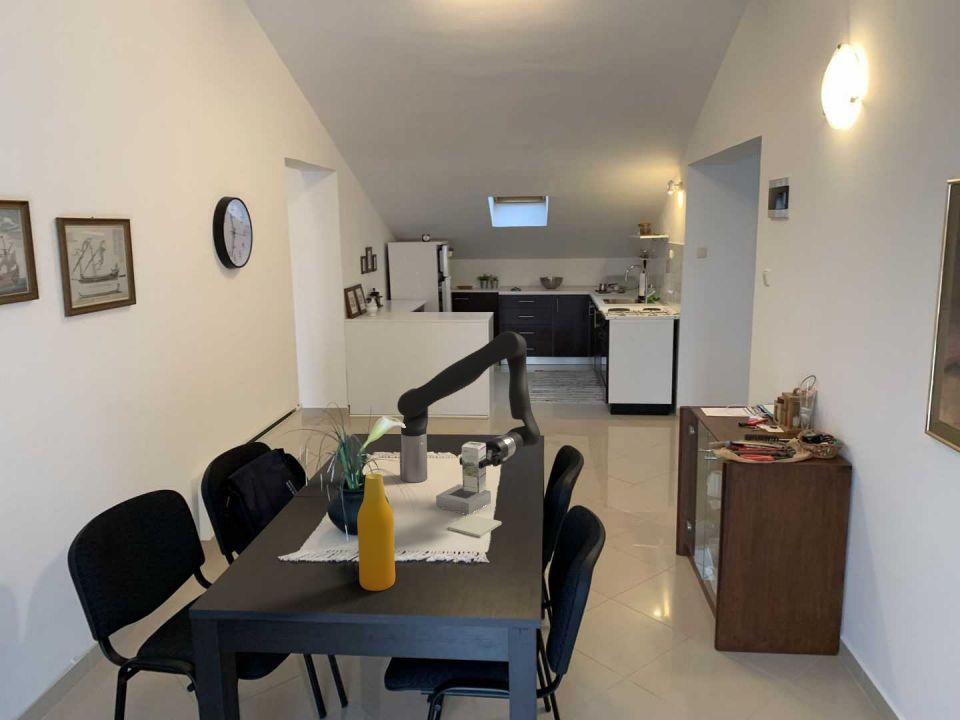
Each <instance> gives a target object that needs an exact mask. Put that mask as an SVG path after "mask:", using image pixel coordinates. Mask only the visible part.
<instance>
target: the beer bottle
mask: <svg viewBox="0 0 960 720" xmlns="http://www.w3.org/2000/svg"><path fill="white" fill-rule="evenodd" d="M364 478H365V480H364V492H363V501H362V503H361V505H360V508H359V510H358V513H357V520H356V522H357V523H356V524H357V542H358V547H357V548H358V549H357V550H358V569H359V570H358V572H359V573H358V575H359V577H358V578H359V584H360V586H361V587H362V588H363V589H364V590H365V591H371V592H379V591H385V590H387V589H389V588H391V587H393V585H394V584H395V581H396V567H395V566H396V565H395V564H396V563H395V561H396V560H395V559H396V558H395V534H394V533H395V532H394V531H395V530H394V527H395V526H394V522H395V521H394V520H395V519H394V514H393V510H392V507H391V506H390V504H389V502H388V500H387V497H386V492H385V485H384V479H383V475H382V474H380V473H377V472H376V473H369V474H366V475H365V477H364Z"/></svg>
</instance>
